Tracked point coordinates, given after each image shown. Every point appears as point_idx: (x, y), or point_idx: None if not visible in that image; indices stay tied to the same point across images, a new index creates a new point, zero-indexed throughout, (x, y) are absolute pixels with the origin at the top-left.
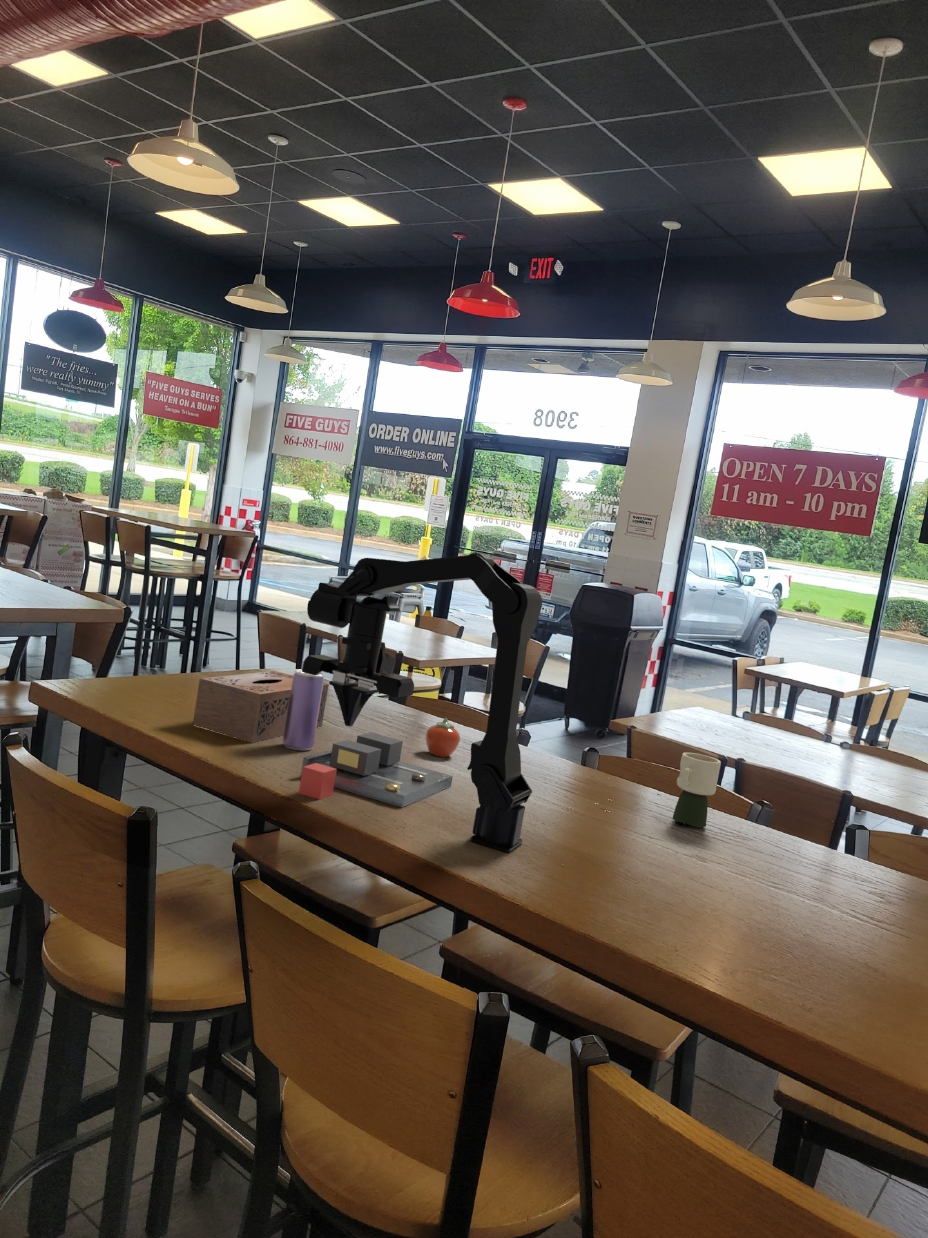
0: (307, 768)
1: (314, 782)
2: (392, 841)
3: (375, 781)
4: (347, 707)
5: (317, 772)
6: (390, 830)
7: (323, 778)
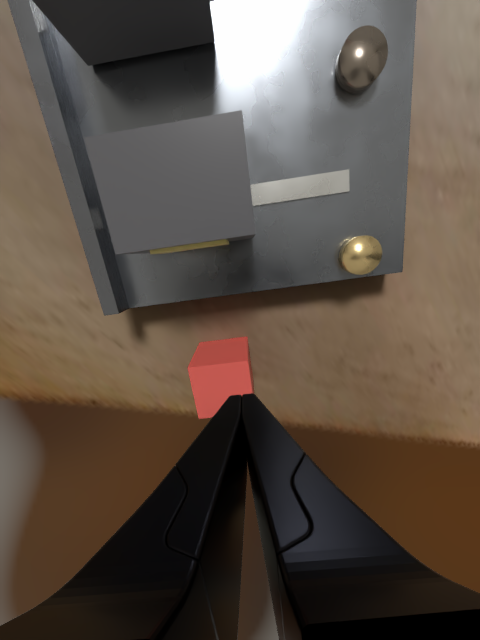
0: (210, 416)
1: None
2: (451, 432)
3: (291, 237)
4: (238, 532)
5: None
6: (427, 397)
7: None
